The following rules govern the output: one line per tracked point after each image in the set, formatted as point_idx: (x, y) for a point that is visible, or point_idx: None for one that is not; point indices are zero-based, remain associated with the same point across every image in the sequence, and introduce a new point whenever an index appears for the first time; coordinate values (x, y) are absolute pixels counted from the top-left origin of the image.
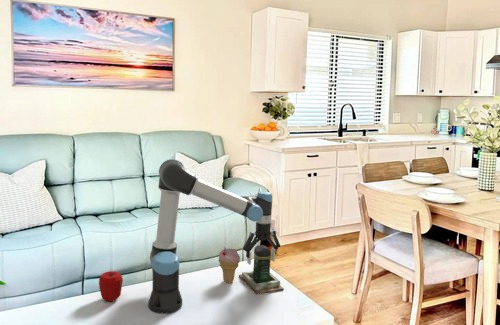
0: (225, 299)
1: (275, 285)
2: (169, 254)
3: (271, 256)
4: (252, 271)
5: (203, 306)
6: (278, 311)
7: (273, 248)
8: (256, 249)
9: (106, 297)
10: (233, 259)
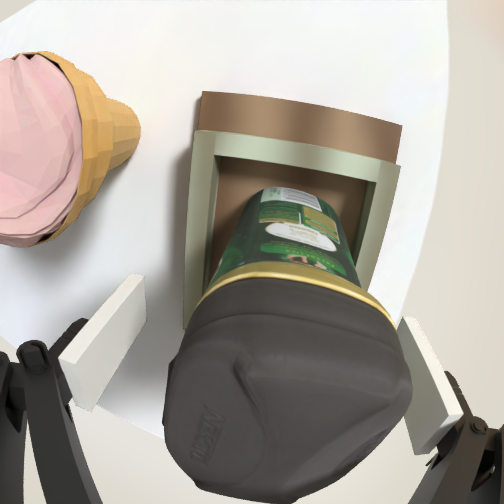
0: (60, 290)
1: None
2: None
3: (411, 343)
4: (278, 150)
5: (4, 288)
6: None
7: (438, 435)
8: (177, 416)
9: None
10: (4, 242)
